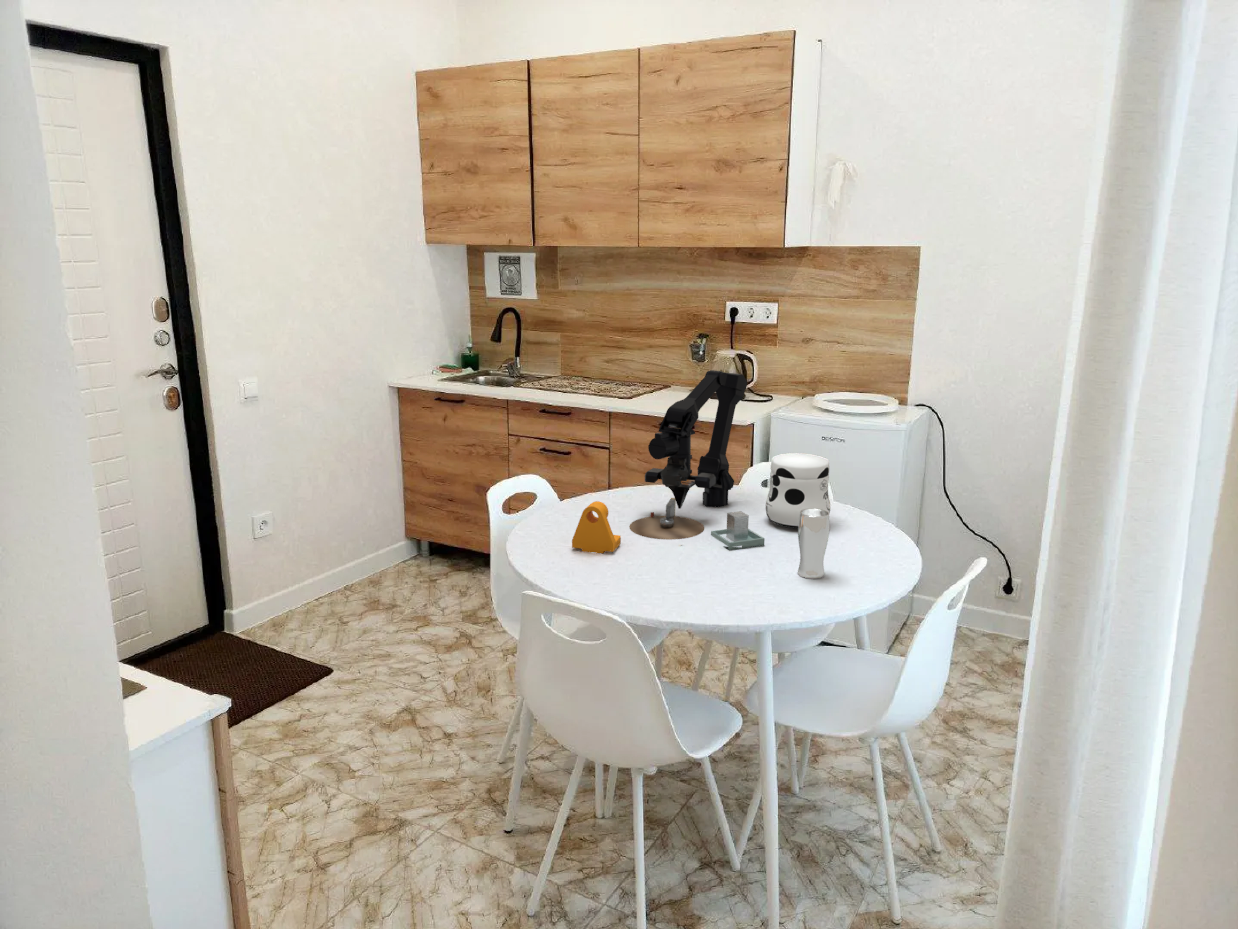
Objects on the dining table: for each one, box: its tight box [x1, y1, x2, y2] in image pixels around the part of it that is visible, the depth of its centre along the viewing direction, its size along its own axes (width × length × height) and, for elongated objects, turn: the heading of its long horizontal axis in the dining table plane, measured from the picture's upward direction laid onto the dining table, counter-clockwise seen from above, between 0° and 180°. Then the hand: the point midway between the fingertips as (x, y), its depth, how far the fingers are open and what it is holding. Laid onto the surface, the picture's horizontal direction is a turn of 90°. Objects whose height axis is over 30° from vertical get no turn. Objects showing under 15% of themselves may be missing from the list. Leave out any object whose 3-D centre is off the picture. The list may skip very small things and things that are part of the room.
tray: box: [710, 528, 766, 552], centre depth 223 cm, size 10×10×2 cm
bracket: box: [571, 500, 622, 554], centre depth 217 cm, size 11×7×12 cm, turn 73°
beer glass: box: [797, 508, 830, 580], centre depth 200 cm, size 7×7×15 cm
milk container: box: [765, 452, 831, 529], centre depth 236 cm, size 17×17×18 cm
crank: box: [660, 497, 677, 527], centre depth 234 cm, size 11×4×5 cm, turn 166°
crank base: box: [629, 511, 705, 541], centre depth 232 cm, size 20×20×2 cm
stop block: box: [725, 510, 749, 542], centre depth 222 cm, size 4×4×7 cm
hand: (679, 508), depth 238 cm, fingers closed
